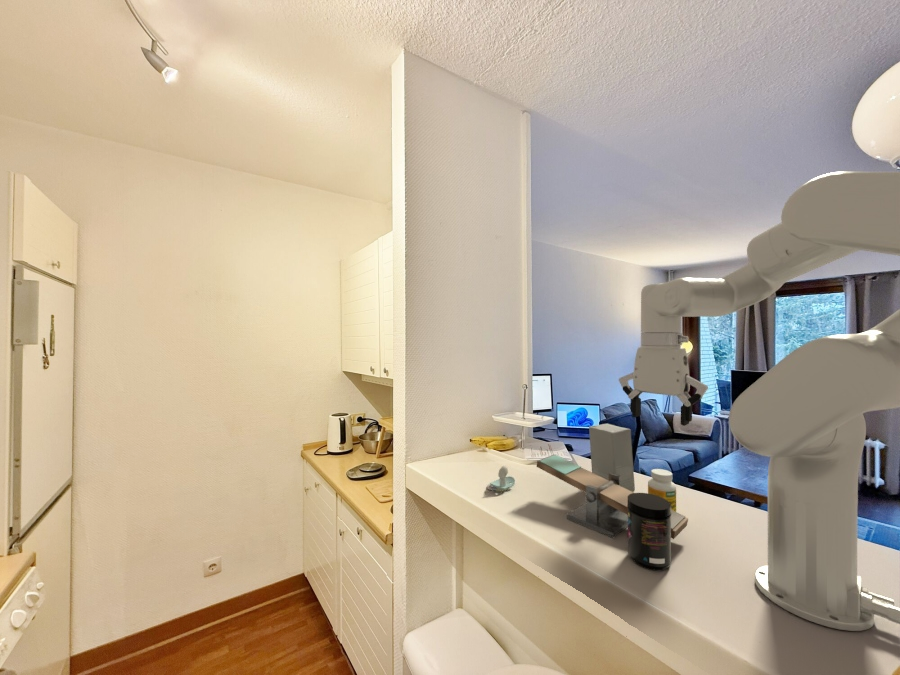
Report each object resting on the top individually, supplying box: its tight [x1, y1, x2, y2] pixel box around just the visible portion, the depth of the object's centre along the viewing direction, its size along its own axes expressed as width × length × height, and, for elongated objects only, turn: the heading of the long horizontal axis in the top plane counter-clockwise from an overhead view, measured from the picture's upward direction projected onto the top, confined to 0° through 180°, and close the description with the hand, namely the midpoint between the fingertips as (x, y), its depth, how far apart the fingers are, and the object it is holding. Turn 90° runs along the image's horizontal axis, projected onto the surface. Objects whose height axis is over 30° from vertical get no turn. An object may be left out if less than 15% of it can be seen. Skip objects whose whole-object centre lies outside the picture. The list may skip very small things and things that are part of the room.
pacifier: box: [486, 465, 516, 492], centre depth 96 cm, size 7×6×6 cm
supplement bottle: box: [647, 468, 677, 512], centre depth 80 cm, size 5×5×10 cm
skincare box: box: [588, 423, 636, 493], centre depth 95 cm, size 8×7×16 cm
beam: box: [536, 454, 689, 540], centre depth 80 cm, size 30×9×2 cm, turn 41°
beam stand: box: [566, 473, 628, 539], centre depth 80 cm, size 10×13×8 cm
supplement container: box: [627, 492, 672, 571], centre depth 65 cm, size 7×7×10 cm
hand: (659, 420), depth 80 cm, fingers open, 9 cm apart
